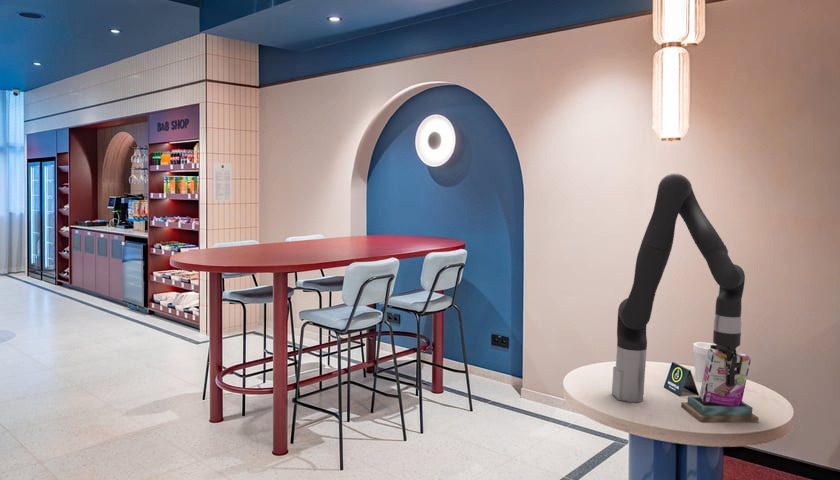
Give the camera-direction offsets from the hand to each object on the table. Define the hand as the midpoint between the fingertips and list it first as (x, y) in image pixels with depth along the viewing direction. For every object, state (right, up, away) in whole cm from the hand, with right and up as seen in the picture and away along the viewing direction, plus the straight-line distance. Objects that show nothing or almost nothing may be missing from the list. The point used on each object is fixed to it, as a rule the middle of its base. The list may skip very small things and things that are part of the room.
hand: (724, 382), depth 186 cm
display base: (-1, -10, +1) cm, 10 cm away
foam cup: (+10, -7, +34) cm, 36 cm away
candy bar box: (-1, -7, +1) cm, 7 cm away
